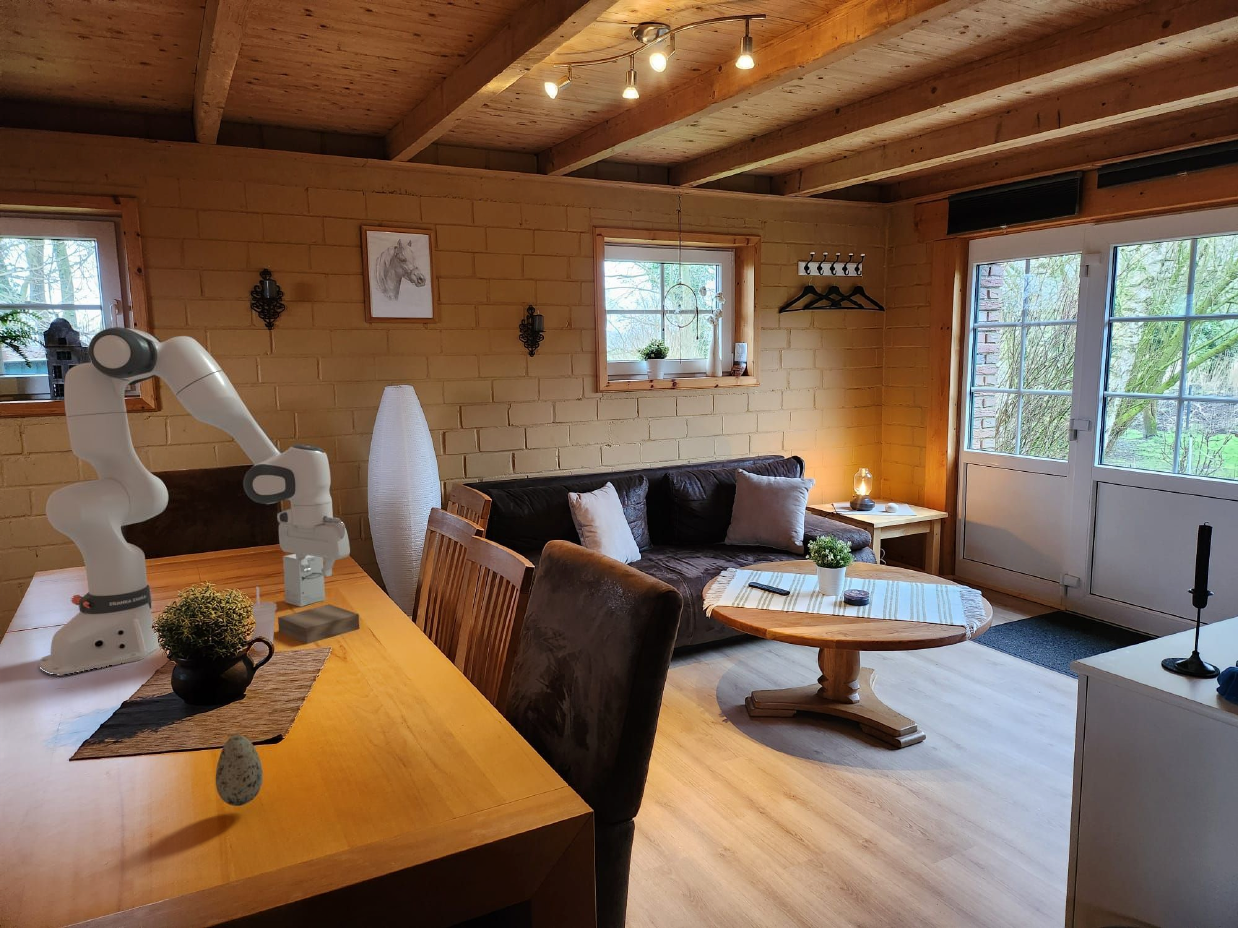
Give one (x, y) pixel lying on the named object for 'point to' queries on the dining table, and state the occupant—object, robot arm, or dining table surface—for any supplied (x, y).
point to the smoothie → (263, 621)
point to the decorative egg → (238, 771)
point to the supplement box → (303, 581)
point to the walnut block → (318, 623)
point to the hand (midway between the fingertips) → (316, 573)
